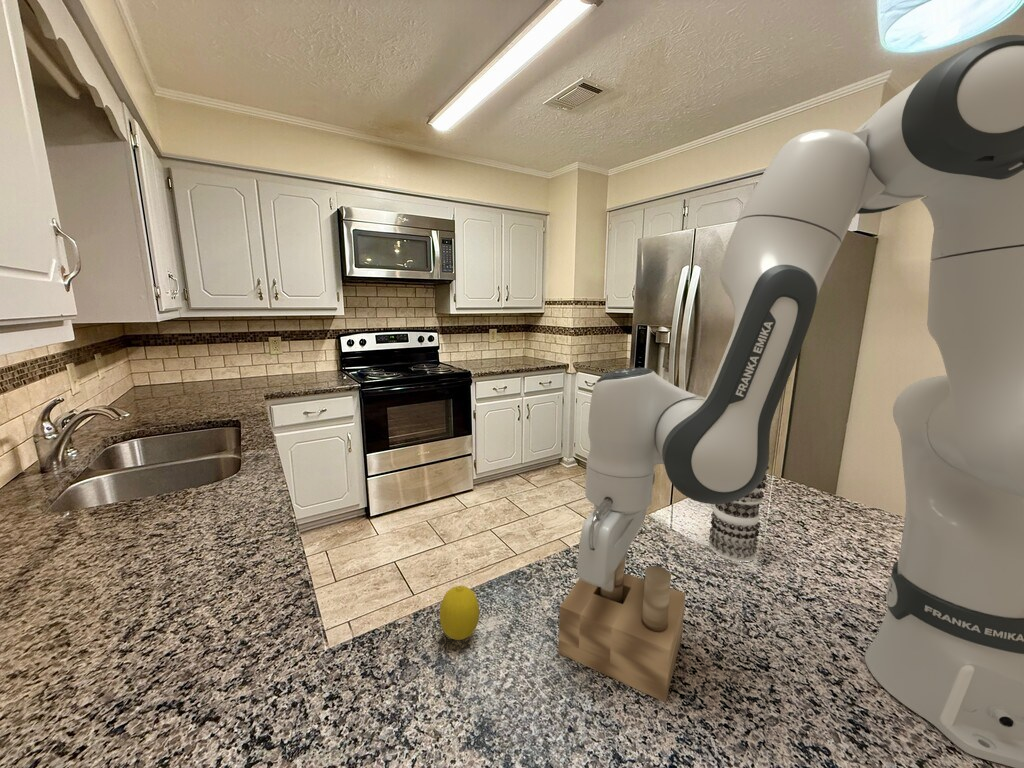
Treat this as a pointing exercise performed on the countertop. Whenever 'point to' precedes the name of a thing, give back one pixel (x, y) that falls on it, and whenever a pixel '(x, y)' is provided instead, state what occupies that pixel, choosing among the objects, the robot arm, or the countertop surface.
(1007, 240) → the robot arm
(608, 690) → the countertop surface
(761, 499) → the decorative candle
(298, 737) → the countertop surface
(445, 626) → the lemon
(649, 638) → the wooden peg hole block
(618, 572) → the peg
